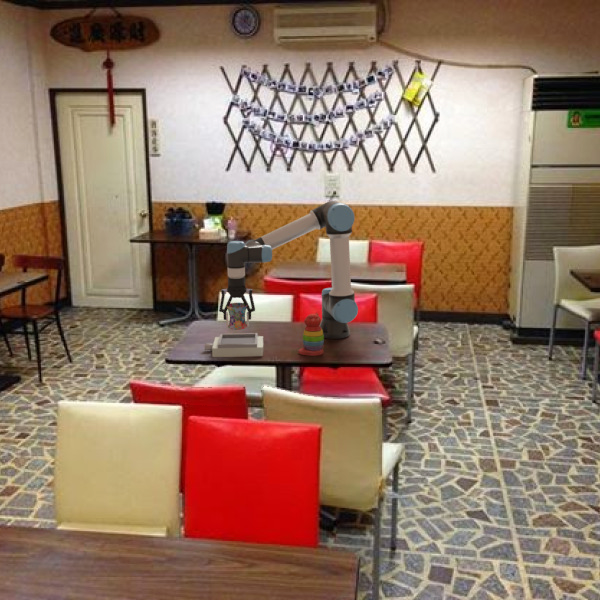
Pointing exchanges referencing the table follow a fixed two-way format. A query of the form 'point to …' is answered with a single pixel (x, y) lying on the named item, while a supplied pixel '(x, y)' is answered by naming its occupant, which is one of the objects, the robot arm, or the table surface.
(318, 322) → the stacking bear
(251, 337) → the open box
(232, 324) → the mug
